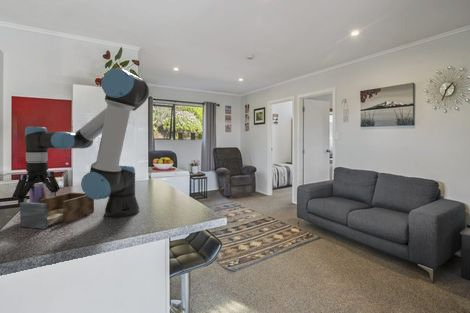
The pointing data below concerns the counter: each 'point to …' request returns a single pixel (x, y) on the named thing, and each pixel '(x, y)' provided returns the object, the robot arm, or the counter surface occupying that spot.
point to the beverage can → (37, 193)
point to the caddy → (70, 205)
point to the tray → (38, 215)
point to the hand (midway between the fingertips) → (38, 209)
